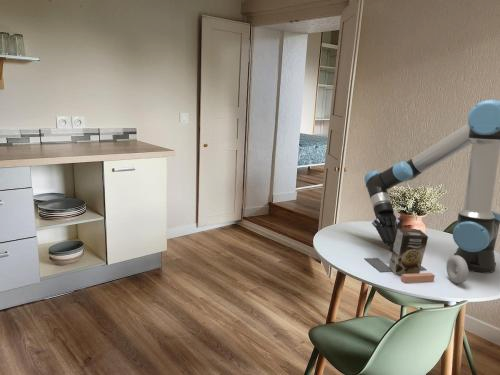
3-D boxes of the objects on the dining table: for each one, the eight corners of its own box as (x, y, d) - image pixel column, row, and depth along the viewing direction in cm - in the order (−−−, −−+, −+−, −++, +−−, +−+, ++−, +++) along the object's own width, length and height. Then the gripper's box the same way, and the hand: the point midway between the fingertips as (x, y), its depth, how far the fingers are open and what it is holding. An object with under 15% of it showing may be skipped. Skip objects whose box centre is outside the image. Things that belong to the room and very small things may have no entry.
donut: (442, 275, 146) (447, 250, 144) (451, 275, 147) (456, 251, 144) (458, 288, 137) (463, 262, 134) (467, 288, 137) (473, 262, 135)
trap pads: (407, 257, 161) (407, 256, 161) (426, 270, 150) (426, 269, 150) (364, 259, 157) (364, 258, 157) (380, 272, 145) (380, 271, 145)
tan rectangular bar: (429, 279, 143) (431, 272, 142) (433, 281, 141) (434, 275, 140) (400, 280, 140) (401, 274, 139) (404, 283, 138) (405, 276, 137)
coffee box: (395, 275, 144) (404, 235, 139) (388, 266, 150) (396, 227, 145) (419, 276, 144) (429, 236, 139) (411, 267, 150) (420, 229, 145)
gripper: (391, 210, 167) (408, 262, 155) (363, 210, 164) (379, 263, 152) (400, 201, 161) (419, 255, 149) (372, 201, 158) (389, 256, 146)
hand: (399, 259), depth 151 cm, fingers closed
